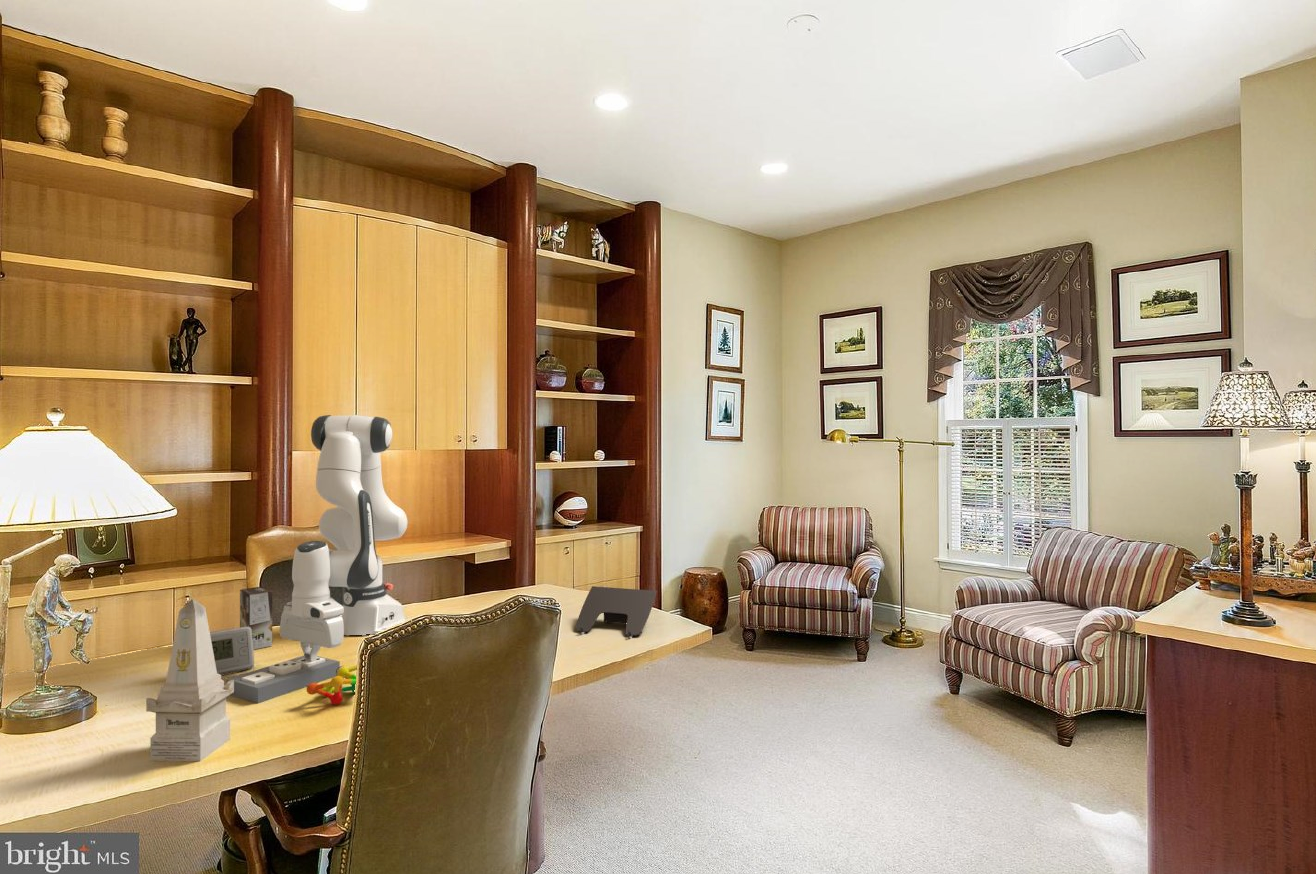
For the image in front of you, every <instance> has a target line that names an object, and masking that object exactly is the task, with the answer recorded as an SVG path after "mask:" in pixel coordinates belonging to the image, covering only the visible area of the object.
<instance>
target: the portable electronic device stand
mask: <svg viewBox="0 0 1316 874" xmlns="http://www.w3.org/2000/svg"><path fill="white" fill-rule="evenodd" d="M657 592H658V591H657V590H653V589H651V590H649V589H639V588H638V589H637V588H621V587H610V586H609V587H608V586H606V587H605V586H591V587H590V590H589V591H588V594H587V596H586V597H585V600H584V602H583V605H582V606H581V609H580V612H579V614H578V617H577V622H576V625H575V629H576V630H577V631H579V632H580V634H581V635H584V634H585V633H588V632H590V631H591V629H592V628H593V626H594V625H595V623H596V621H597V620H598V618H599V616H601V614H603V622H604V624H614V623H615V624H616V623H617V624H618V623H619V624H624V623H625V624H624V625H625V635H626V636H627V637H628V639H632V638H633V637H635V636H640V635H641V634H643V630H644V628H645V626H646V623H647V621H648V619H649V617H650V614H651V611H652V609H653V606H654V602H655V600H656V596H657ZM626 623H627V624H626ZM631 637H632V638H631Z"/></svg>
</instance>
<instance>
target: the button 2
mask: <svg viewBox="0 0 1316 874" xmlns="http://www.w3.org/2000/svg"><path fill="white" fill-rule="evenodd" d="M289 660H290V659H288V660H285V661H280V662H278V663H277V662H276V663H274V664H272V665H268V666H269V672H271V673H275V674H278V675H285V674H288V673H291V672H294V671H297V670H300V669H301V663H297V662H293V661H289Z"/></svg>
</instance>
